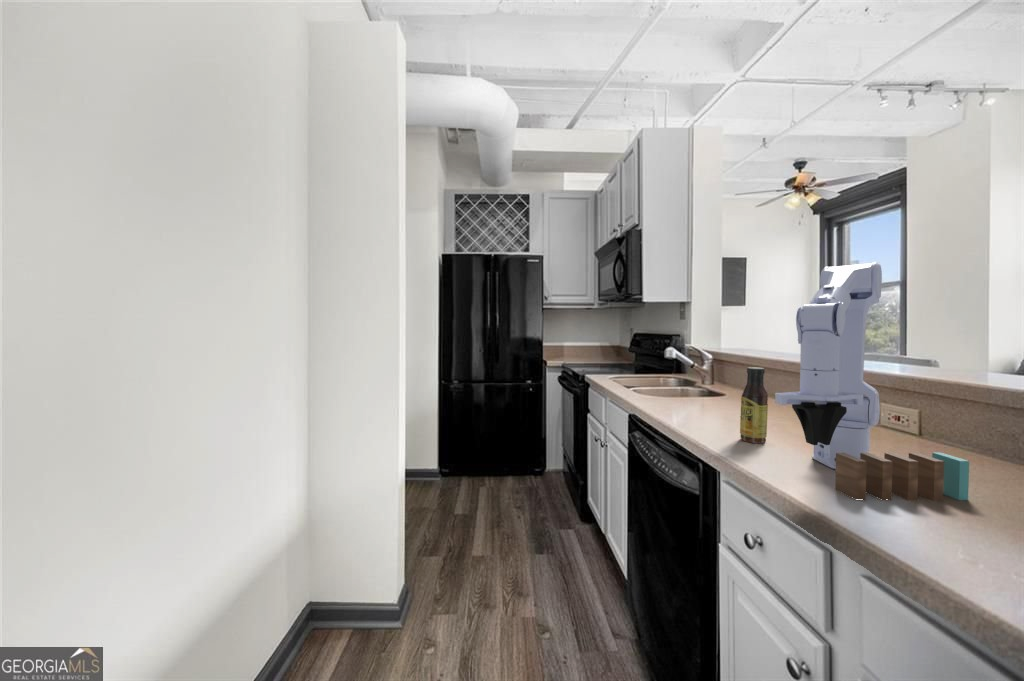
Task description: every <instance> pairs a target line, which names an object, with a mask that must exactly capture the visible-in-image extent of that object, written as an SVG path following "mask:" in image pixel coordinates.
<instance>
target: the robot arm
mask: <svg viewBox="0 0 1024 681" xmlns="http://www.w3.org/2000/svg"><path fill="white" fill-rule="evenodd" d="M820 272H821V273H820V278H819V280H820V281H819V284H820V288H819V289H818V290H817V291H816V293H815V294H814V296H813V297H812V299H811V300H810V302H809V303H807V304H806V303H804V304H803V306H799V307H798V308H797V311H796V314H795V315H796V317H795V326H796V331H797V341H798V344H800V356H799V357H800V360H799V362H800V368H799V391H791V392H790V391H788V392H787V391H786V392H775V393H774V394H775V396H774V397H775V398H774V400H775V401H774V402H775V404H777V405H780V406H788V405H791V408H792V409H793V411H794V412H795V415H796V416H797V417H798V420H799V422H800V424H801V428H802V430H803V434H804V438H805V442H806V443H807V444H809V445H812V446H813V455H812V456H811V459H812V460H813V459H814V460H815V461H816V462H819V463H821V464H823V465H825V466H827V467H829V468H830V469H833V470H836V453H846V454H849V455H851V456H854V457H857V458H859V459H860V453H870V444H871V443H870V440H871V439H870V438H871V427H875V426H876V425H878V424H879V420H880V414H881V413H880V412H881V411H880V410H881V405H880V393H879V392H878V390H877V389H876V388H875V387H873V386H871V385H870V384H869V383H867V382H865V381H864V370H865V349H866V348H865V347H866V346H865V345H866V330H867V329H866V327H867V317H868V316H867V315H868V313H869V310H870V309H869V308H870V307H871V306H874V305H875V304H878V303H879V302H880V298H882V297H881V296H882V283H883V282H882V280H883V277H882V276H883V271H882V266H881V264H879V263H878V262H877V261H874V262H872V263H862V264H850V265H839V266H837V265H836V266H825V267H824V268H823V269H822V270H821V271H820Z"/></svg>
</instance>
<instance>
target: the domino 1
mask: <svg viewBox="0 0 1024 681" xmlns="http://www.w3.org/2000/svg"><path fill="white" fill-rule="evenodd" d="M834 481H835V482H834V484H835V486H834V490H835V489H836V491H837V490H838V491H837V492H839V491H840V492H839V493H841V492H842V493H841V494H843V493H844V494H843V495H845V494H846V495H845V496H847V495H848V496H847V497H849V496H850V497H849V498H851V497H853V498H855V499H863V500H862V501H866V494H867V493H866V461H864V460H862V459H859V458H857V457H854V456H851V455H849V454H846V453H836V469H835V480H834ZM853 498H852V499H853ZM855 499H854V500H855Z"/></svg>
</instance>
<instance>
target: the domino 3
mask: <svg viewBox="0 0 1024 681" xmlns="http://www.w3.org/2000/svg"><path fill="white" fill-rule="evenodd" d="M883 454H884V457H883V458H885V459H887V460H890V461H892V493H893V494H892V493H891V494H892V495H895V496H897V497H899V496H900V497H899V498H901V497H902V499H904V500H905V501H906V500H907V501H918V494H917V487H918V461H916V460H913V459H910V458H909V457H906V456H904V455H901V454H898V453H896V452H884V453H883Z"/></svg>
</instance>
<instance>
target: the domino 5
mask: <svg viewBox="0 0 1024 681" xmlns="http://www.w3.org/2000/svg"><path fill="white" fill-rule="evenodd" d="M931 457H932V458H935V459H938V460H942V461H944V483H943V495H945V496H948V497H950V498H952V499H954V500H958V501H969V486H970V485H969V484H970V483H969V481H970V480H969V479H970V460H967V459H964V458H961V457H957V456H954V455H950V454H948V453H947V454H946V453H944V452H932V456H931Z"/></svg>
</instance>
